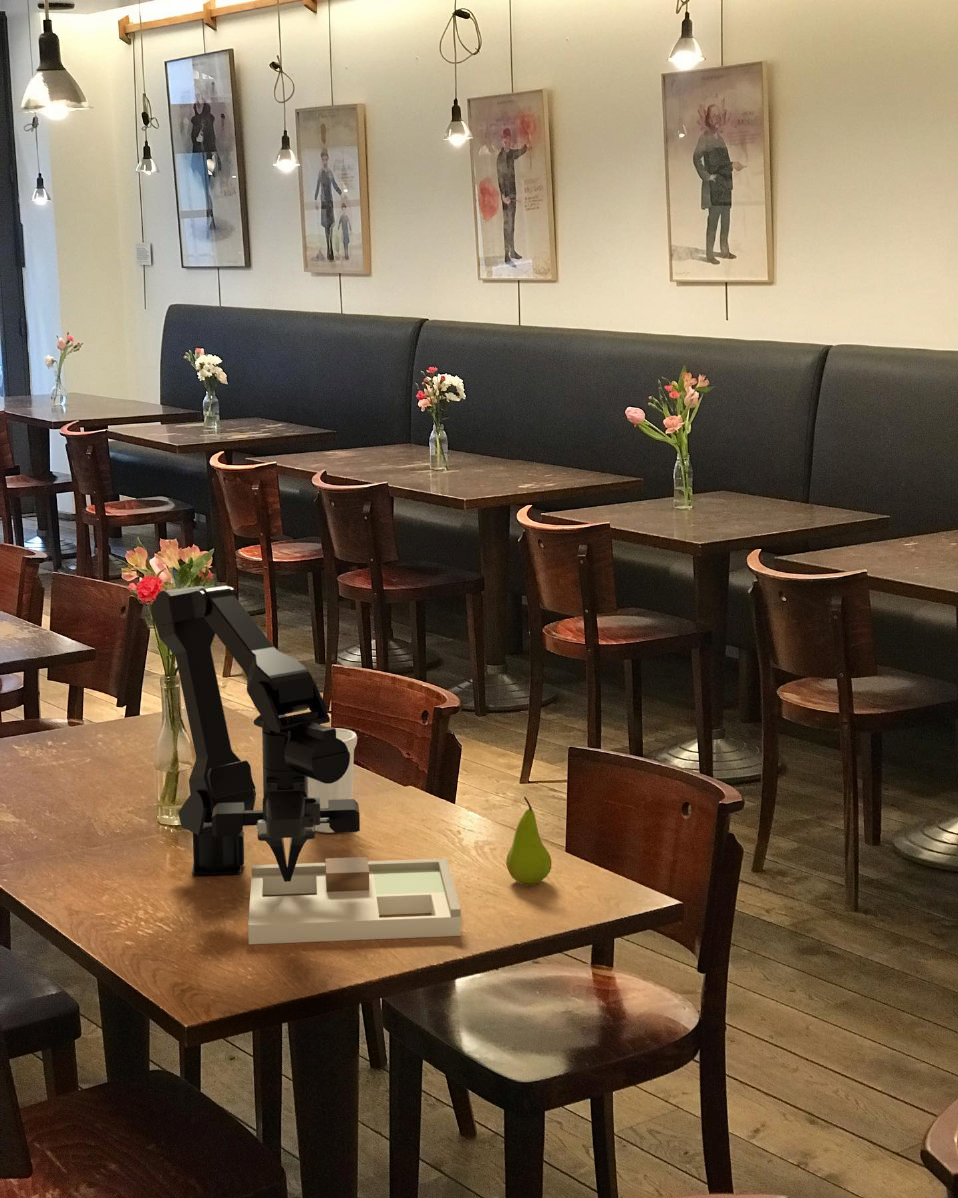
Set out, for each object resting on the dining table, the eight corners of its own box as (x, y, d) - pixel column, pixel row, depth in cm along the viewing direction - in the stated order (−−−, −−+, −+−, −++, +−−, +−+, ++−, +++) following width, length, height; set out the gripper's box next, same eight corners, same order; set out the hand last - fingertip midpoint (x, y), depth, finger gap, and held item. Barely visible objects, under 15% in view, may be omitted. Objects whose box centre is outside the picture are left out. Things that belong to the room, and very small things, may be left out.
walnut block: (326, 892, 206) (326, 873, 205) (325, 876, 211) (325, 858, 210) (369, 890, 206) (369, 872, 206) (367, 875, 212) (367, 857, 211)
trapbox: (248, 944, 195) (248, 917, 195) (252, 890, 213) (251, 865, 212) (460, 936, 198) (460, 909, 197) (446, 883, 216) (446, 858, 215)
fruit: (548, 893, 212) (549, 807, 210) (502, 890, 213) (502, 804, 211) (554, 876, 219) (555, 792, 216) (509, 873, 220) (510, 789, 217)
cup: (293, 833, 235) (292, 739, 232) (319, 816, 243) (318, 725, 240) (342, 840, 232) (341, 745, 230) (367, 823, 240) (366, 731, 237)
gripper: (208, 786, 196) (211, 907, 199) (361, 782, 198) (362, 901, 201) (212, 760, 206) (215, 874, 209) (357, 756, 208) (358, 869, 211)
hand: (287, 880), depth 207 cm, fingers closed
